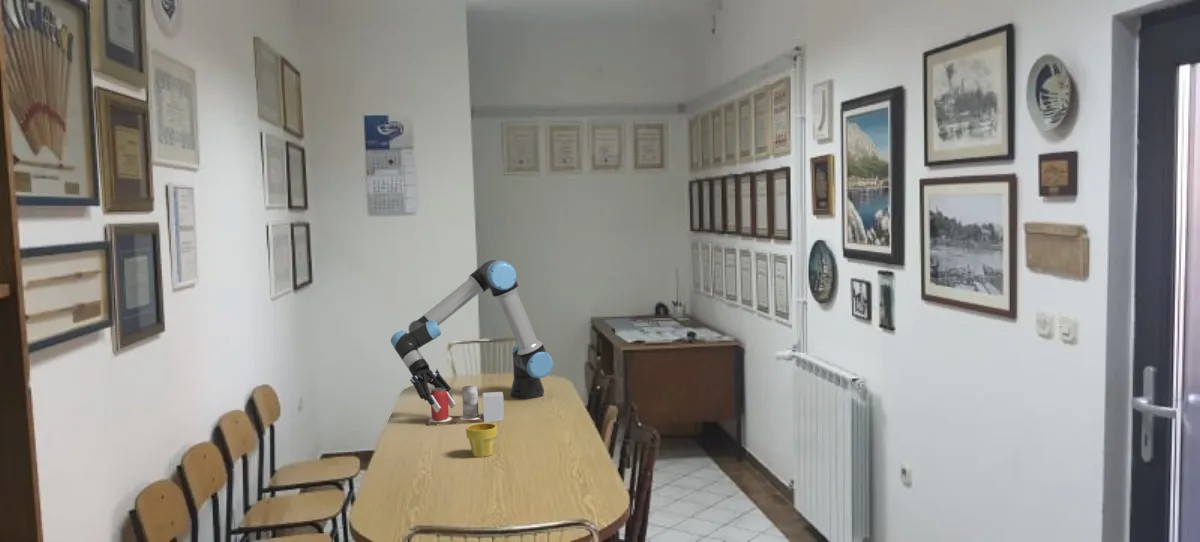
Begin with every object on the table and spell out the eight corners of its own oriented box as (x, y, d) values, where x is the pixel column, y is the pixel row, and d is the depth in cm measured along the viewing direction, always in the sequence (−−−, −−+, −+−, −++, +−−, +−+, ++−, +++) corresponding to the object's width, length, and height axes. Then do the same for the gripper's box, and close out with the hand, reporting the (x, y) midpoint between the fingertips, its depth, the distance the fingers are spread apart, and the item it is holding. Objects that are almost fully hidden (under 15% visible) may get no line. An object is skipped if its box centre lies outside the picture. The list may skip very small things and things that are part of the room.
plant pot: (469, 460, 288) (468, 431, 287) (465, 452, 298) (464, 424, 297) (500, 457, 290) (498, 428, 290) (495, 449, 300) (494, 421, 300)
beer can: (450, 416, 345) (448, 387, 344) (446, 420, 338) (444, 390, 337) (434, 416, 346) (432, 387, 345) (429, 421, 339) (427, 391, 338)
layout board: (482, 417, 349) (481, 384, 348) (482, 422, 340) (481, 388, 339) (429, 420, 346) (428, 387, 345) (428, 425, 337) (426, 392, 336)
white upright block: (503, 416, 350) (502, 391, 349) (504, 420, 342) (503, 395, 341) (483, 417, 348) (482, 392, 348) (483, 422, 341) (482, 397, 340)
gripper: (430, 366, 358) (460, 408, 349) (392, 374, 342) (422, 419, 333) (439, 354, 354) (468, 397, 346) (401, 361, 338) (431, 407, 330)
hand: (446, 408), depth 340 cm, fingers open, 7 cm apart
